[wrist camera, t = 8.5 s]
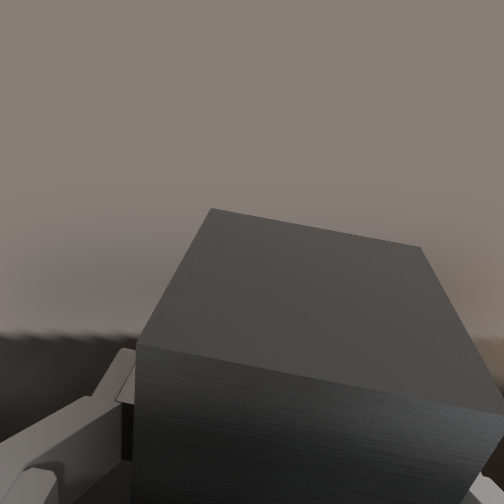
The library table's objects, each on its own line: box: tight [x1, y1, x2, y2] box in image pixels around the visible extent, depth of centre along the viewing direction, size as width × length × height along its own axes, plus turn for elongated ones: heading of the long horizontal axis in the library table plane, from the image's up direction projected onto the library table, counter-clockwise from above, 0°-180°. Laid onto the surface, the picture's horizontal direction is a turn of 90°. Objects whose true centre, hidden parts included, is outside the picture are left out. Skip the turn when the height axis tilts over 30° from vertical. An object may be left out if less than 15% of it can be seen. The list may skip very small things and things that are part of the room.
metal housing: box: [131, 208, 504, 504], centre depth 10 cm, size 5×5×10 cm
